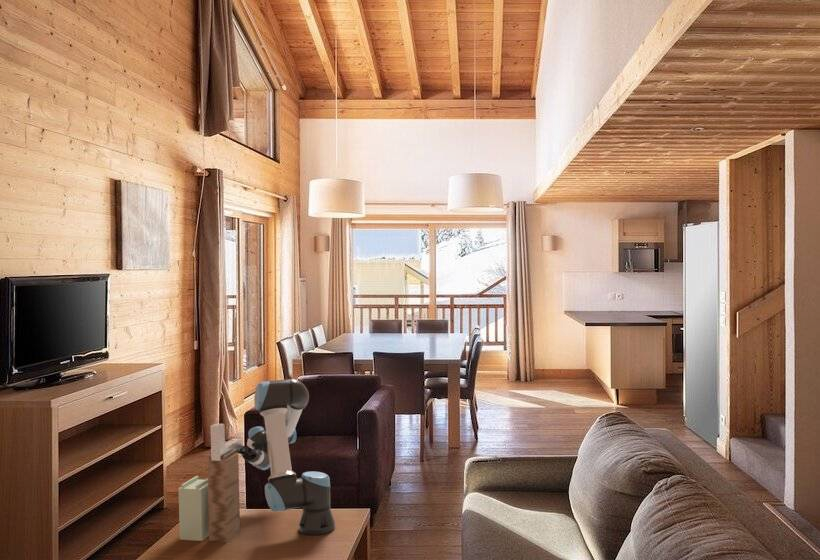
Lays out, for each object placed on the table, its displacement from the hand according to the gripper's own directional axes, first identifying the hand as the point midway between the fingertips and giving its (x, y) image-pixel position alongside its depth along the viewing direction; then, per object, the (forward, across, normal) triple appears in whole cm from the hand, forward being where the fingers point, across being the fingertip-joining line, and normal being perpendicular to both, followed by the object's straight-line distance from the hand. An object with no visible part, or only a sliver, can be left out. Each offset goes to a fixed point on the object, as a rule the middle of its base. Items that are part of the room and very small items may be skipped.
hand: (233, 441), depth 276 cm
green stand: (-10, +12, -36) cm, 40 cm away
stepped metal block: (+3, 0, -6) cm, 6 cm away
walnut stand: (-10, 0, -36) cm, 38 cm away
